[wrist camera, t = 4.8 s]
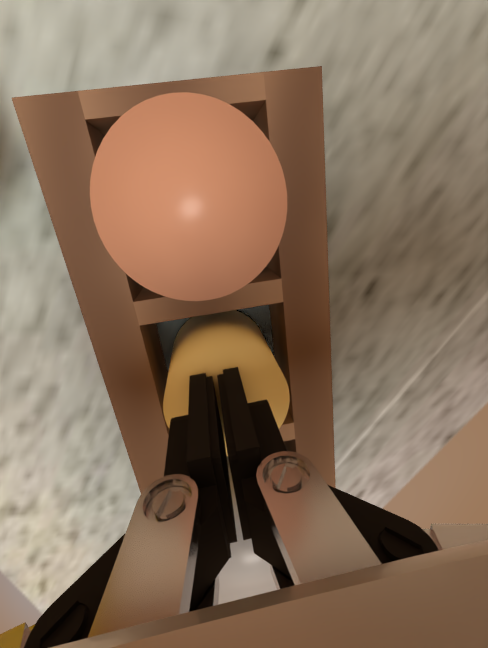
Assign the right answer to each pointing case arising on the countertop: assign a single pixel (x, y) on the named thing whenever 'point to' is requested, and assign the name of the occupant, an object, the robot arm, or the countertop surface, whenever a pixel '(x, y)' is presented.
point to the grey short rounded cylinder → (243, 566)
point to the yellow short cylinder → (224, 363)
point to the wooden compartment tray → (150, 308)
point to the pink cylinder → (188, 196)
